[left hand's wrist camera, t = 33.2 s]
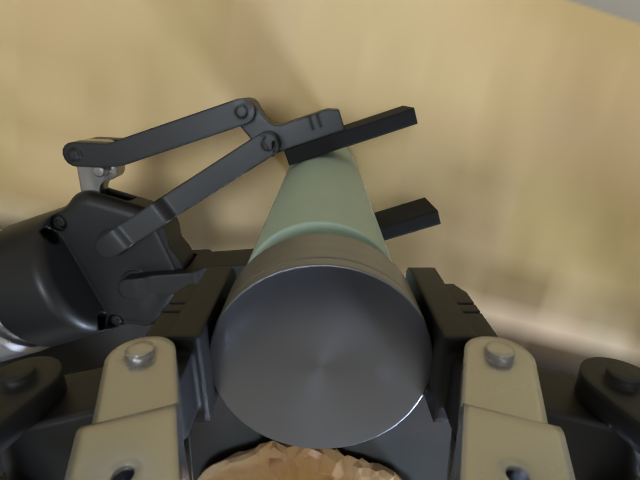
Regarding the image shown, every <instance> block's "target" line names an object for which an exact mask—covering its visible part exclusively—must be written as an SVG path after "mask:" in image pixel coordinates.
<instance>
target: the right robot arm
mask: <svg viewBox="0 0 640 480" xmlns="http://www.w3.org/2000/svg"><path fill="white" fill-rule="evenodd" d="M415 124H418V123H417V119H416V114H415V110H414V108H412V107H407V106H401V107H398V108H395V109H392V110H389V111H386V112H383V113H380V114H377V115H374V116H371V117H368V118H365V119H362V120H359V121H356V122H353V123H350V124H347V125H343V122H342V118H341V115H340V112H339V110H338V109H333V108H327V109H324V110H321V111H318V112H315V113H312V114H309V115H306V116H303V117H300V118H297V119H294V120H291V121H288V122H285V123H277V122H274V121H273V120H271V119H270V118H269V117H268V115H267V114H266V113H265V112H264V110H263V109H262V108H261V106H260V104H259V102H258V101H257V100H255V99H253V98H241V99H236V100H233V101H230V102H227V103H224V104H221V105H218V106H215V107H213V108H210V109H207V110H204V111H201V112H198V113H195V114H192V115H189V116H186V117H183V118H181V119H178V120H175V121H172V122H169V123H166V124H163V125H160V126H157V127H154V128H151V129H149V130H146V131H143V132H140V133H137V134H134V135H131V136H128V137H125V138H112V137H95V138H90V139H85V140H80V141H76V142H71V143H68V144H66V145H65V146H64V148H63V156H64V159H65V160H66V161H67V162H68V163H69V164H71V165H72V166H76V167H77V169H78V175H79V181H80V186H81V192H80V193H78V194H76V195H75V196H74V197H73V198H72V200H71V201H70V203H69V204H68V205H67V206H66V207H63V208H60V209H57V210H54V211H51V212H48V213H45V214H42V215H39V216H36V217H33V218H30V219H27V220H24V221H21V222H19V223H16V224H13V225H10V226H8V227H6V228H4V229H0V362H2V361H6V360H10V359H14V358H17V357H21V356H25V355H28V354H32V353H36V352H39V351H42V350H45V349H47V348H49V347H51V346H58V345H61V344H65V343H68V342H71V341H75V340H78V339H82V338H85V337H88V336H92V335H95V334H99V333H102V332H105V331H108V330H111V329H113V328H116V327H118V326H121V325H124V324H138V325H152V324H154V323H155V321H156V320H157V319H158V317H159V316H160V314H161V313H163V310H164V309H165V307H166V306H167V305H169V301H170V300H171V299H172V297H173V296H174V294H175V293H176V292H177V291H179V290H180V289H182V288H183V287H185V286H186V285H188V284H198V282H199V281H200V279H201V277H202V276H203V274H204V273H205V271H206V269H207V268H208V267H234V269H235V272H236V279H237V277H238V275H239V274H240V273H241V271H242V270H243V269H244V267H245V266H246V265H247V264H248V261H249V259H250V257H251V255H252V252H253V250H254V249H244V250H231V251H218V252H212V251H211V250H193V251H192V249H191V247H190V246H189V244H188V243H187V242H186V241H185V239H184V238H183V237H182V235H181V230H180V225H179V221H178V219H177V217H176V216H178V215H179V214H181V213H183V212H184V211H186V210H187V209H189V208H190V207H192V206H194V205H195V204H197V203H198V202H200V201H202V200H203V199H205V198H206V197H208V196H209V195H211V194H213V193H214V192H216V191H217V190H219V189H221V188H222V187H224V186H225V185H227V184H229V183H230V182H232V181H233V180H235V179H236V178H238V177H240V176H241V175H243V174H244V173H246V172H248V171H249V170H251V169H252V168H254V167H255V166H257V165H259V164H260V163H262V162H263V161H265V160H267V159H268V158H270V157H271V156H274V155H275V154H276V153H278V152H281V151H284V150H285V154H286V157H287V160H288V163H289V166H290V165H293V164H296V163H299V162H302V161H305V160H308V159H311V158H314V157H317V156H320V155H323V154H326V153H329V152H332V151H335V150H338V149H341V148H344V147H348V146H351V145H354V144H357V143H360V142H363V141H366V140H369V139H372V138H375V137H378V136H381V135H384V134H387V133H390V132H393V131H396V130H399V129H402V128H405V127H408V126H412V125H415ZM239 126H241V127H242V129H243V130H244V131H245V132H246V134H247V135H248V136H249V137H250V138H251V139H250V140H249V141H247V142H246V143H244V144H243V145H241V146H240V147H238V148H236V149H235V150H233V151H232V152H230V153H229V154H227V155H226V156H224V157H223V158H221V159H219V160H218V161H216V162H215V163H213V164H212V165H210V166H209V167H207V168H206V169H204V170H203V171H201V172H199V173H198V174H196V175H195V176H193V177H192V178H190V179H189V180H187V181H186V182H184V183H182V184H181V185H179V186H178V187H176V188H175V189H173V190H172V191H170V192H168V193H167V194H165V195H164V196H162V197H161V198H159V199H158V200H156V201H155V202H154V201H151V200H147V199H144V198H141V197H138V196H134V195H131V194H128V193H124V192H121V191H118V190H114V189H111V188H108V183H109V181H110V180H111V179H114V178H116V177H118V176H120V175H122V174H123V173H124V170H125V165H126V164H129V163H132V162H135V161H138V160H141V159H144V158H147V157H150V156H153V155H156V154H159V153H162V152H165V151H168V150H171V149H174V148H177V147H180V146H183V145H186V144H189V143H192V142H195V141H198V140H201V139H204V138H207V137H210V136H213V135H216V134H219V133H222V132H225V131H228V130H230V129H233V128H236V127H239ZM374 214H375V217H376V220H377V222H378V225H379V228H380V231H381V233H382V236H383V239H384V240H388V239H391V238H394V237H398V236H401V235H405V234H408V233H411V232H415V231H418V230H421V229H425V228H428V227H431V226H435V225H438V224H441V223H440V219H439V215H438V211H437V210H436V208H435V207H434V206H433V205H432V204H431V203H430V202H429V201H428V200H427V199H426V198H422V199H418V200H415V201H412V202H408V203H405V204H402V205H399V206H395V207H392V208H389V209H386V210H382V211H379V212H376V213H374Z"/></svg>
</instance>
